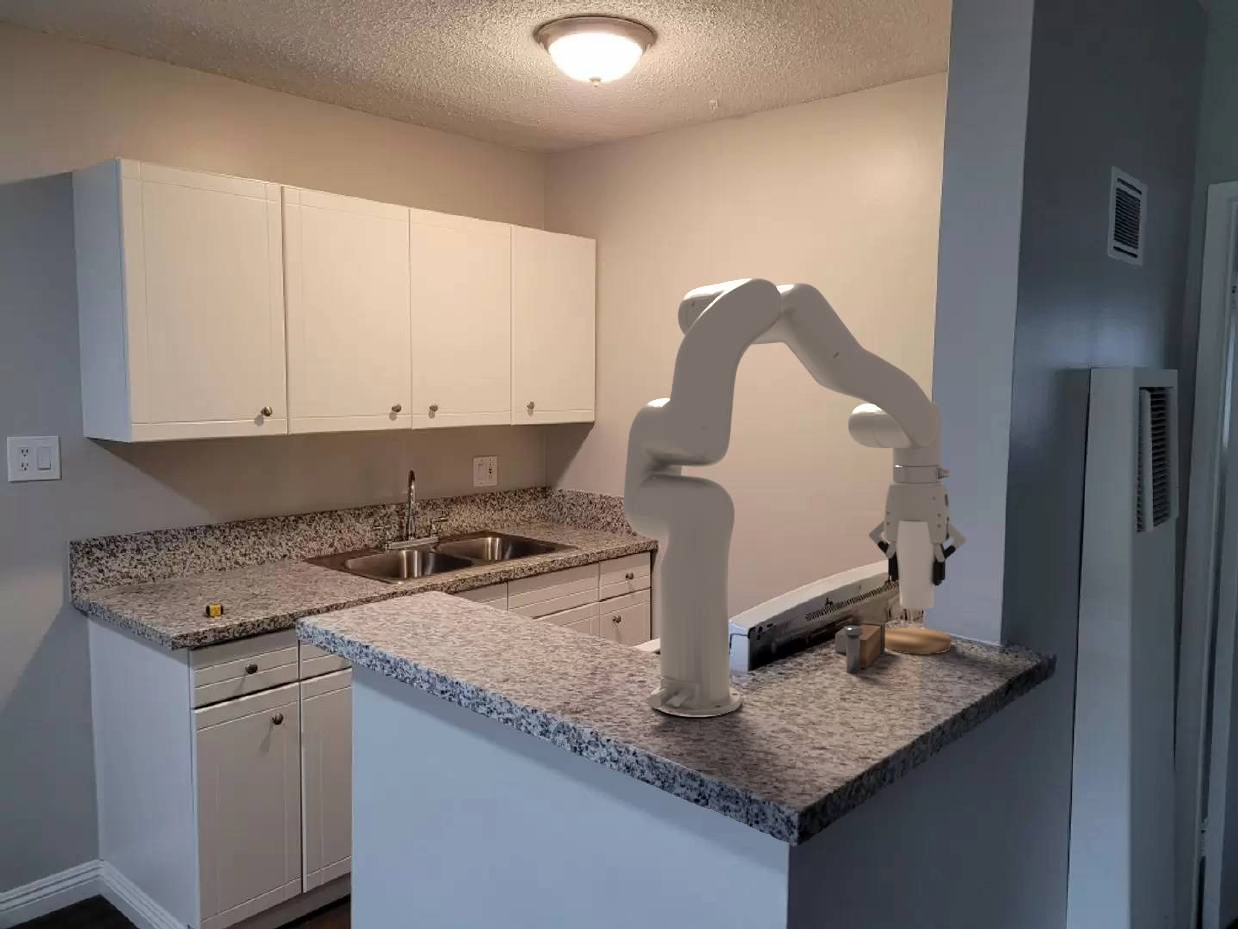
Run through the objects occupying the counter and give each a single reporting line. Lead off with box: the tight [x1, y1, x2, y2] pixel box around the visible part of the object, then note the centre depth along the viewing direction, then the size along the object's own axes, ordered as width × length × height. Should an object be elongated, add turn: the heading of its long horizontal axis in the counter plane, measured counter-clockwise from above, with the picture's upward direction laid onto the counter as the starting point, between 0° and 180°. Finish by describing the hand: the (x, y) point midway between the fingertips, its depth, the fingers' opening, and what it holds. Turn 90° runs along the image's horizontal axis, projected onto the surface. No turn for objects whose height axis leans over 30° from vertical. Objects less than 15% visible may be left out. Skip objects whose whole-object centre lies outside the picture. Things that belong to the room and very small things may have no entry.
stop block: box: [834, 628, 846, 654], centre depth 149 cm, size 4×2×3 cm, turn 149°
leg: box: [859, 619, 886, 669], centre depth 143 cm, size 3×11×5 cm, turn 150°
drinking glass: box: [896, 520, 936, 611], centre depth 150 cm, size 7×7×15 cm
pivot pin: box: [843, 625, 863, 674], centre depth 137 cm, size 3×3×7 cm
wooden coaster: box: [885, 627, 952, 655], centre depth 151 cm, size 11×11×2 cm
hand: (916, 581), depth 150 cm, fingers closed on drinking glass, 6 cm apart
